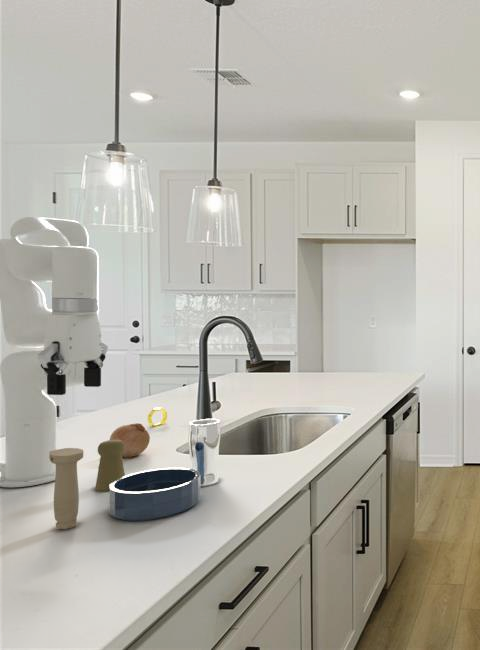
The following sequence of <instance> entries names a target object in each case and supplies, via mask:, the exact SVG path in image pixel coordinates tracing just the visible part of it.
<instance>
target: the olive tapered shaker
mask: <svg viewBox="0 0 480 650" xmlns="http://www.w3.org/2000/svg"><path fill="white" fill-rule="evenodd" d="M123 451H124V443H123V442H122V441H120V440H110V439H109V440H105V441H102V442H99V444H98V446H97V453H98V455H99V456H100V458H99V463H98V470H97V476H96V481H95V482H96V483H95V491H99V492H109V485H110V484H111V483H112V482H113V481H115V480H117V479H119V478H121V477H124V476H126V474H125V473H126V472H125V467H124V461H123V457H122V452H123Z"/></svg>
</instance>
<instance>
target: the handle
mask: <svg viewBox="0 0 480 650" xmlns="http://www.w3.org/2000/svg"><path fill="white" fill-rule="evenodd" d="M83 458H84V449H82V448H77V447H65V448H58V449H56V450H54V451H50V452H49V459H50V461H51V462H52V463H54V464H56V474H55V480H54V488H53V489H54V490H53V514H54V520H55V521H56V522H55V528H56V530H59V531H60V530H68V529H72V528H74V527H75V526H76V524H77V521H78V520H77V519H78V518H77V517H78V515H79V514H78V513H79V505H80V503H79V502H80V500H79V499H80V492H79V478H78V477H79V476H78V462H79V461H81V460H82V459H83Z"/></svg>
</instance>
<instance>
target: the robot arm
mask: <svg viewBox="0 0 480 650" xmlns="http://www.w3.org/2000/svg"><path fill="white" fill-rule="evenodd" d="M9 233H10V235H9V236H10V238H1V239H0V308H1V319H2V326H3V334H4V338H5V340H6V343H7V344H8V345H9V346H11V347H14V348H18V349H34V350H21V351H15V352H13V353H10V354H8V355H6V356H5V357H4V358H2V360H1V362H0V378H1V384H2V390H3V395H4V411H5V413H4V414H5V417H4V419H5V420H4V422H5V423H4V424H5V427H4V429H5V433H4V434H5V436H4V440H5V441H4V443H5V444H4V445H5V447H4V448H5V451H4V453H5V459H4V460H5V461H0V488H25V487H32V486H37V485H43V484H46V483H50V482H55V474H56V464H54V463H52V462H51V461H50V459H49V452H50V451H54V450H57V439H58V438H57V428H58V427H57V425H58V424H57V422H58V421H57V416H58V415H57V405H56V403H55V401H54V400H53V399H52V398H50V397H49V396H64V395H66V393H67V387H75V386H76V387H77V386H82V385H83V386H84V387H86V388H87V387H88V388H89V387H90V388H92V387H93V388H99V387H101V386H102V368H103V367H104V360H106V358H107V357H106V355H107V352H108V349H109V346H108V345H107V344H106V343H103V342H102V329H101V322H100V317H99V254H98V252H97V251H96V249H95V248H92V247H88V246H89V241H90V240H89V233H88V231H87V229H86V227H85V226H84V225H83V224H82V223H81V222H79V221H77V220H74V219H73V220H72V219H61V218H51V217H41V216H40V217H39V216H27V217H26V216H25V217H22V218H20V219H17V220H16V221H14V223H12V225H11V226H10V231H9ZM35 282H40V283H41V282H43V283H45V282H47V283H51V309H49V308H48V307H47V303H46V295H45V293H44V291H43V290H42V289H41V288H40V287H39V286H38V285H37V284H36V283H35ZM36 348H37V349H36ZM38 348H43V349H38ZM35 349H36V350H35ZM44 390H46V393H45V392H44Z"/></svg>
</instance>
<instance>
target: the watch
mask: <svg viewBox="0 0 480 650" xmlns="http://www.w3.org/2000/svg"><path fill="white" fill-rule="evenodd" d="M160 411H161V412H162V413H163V418H162V420H161V421H160V422H158V423H153V421H152V416H153V414H154V413H155V412H160ZM167 419H168V413H167V411H166V410H165V409H163V407H161V406H160V407H153V408H152V410H151V411H150V412H149V413H148V415H147V422H148V424H149V425H151V426H153V427H157V426H161V425H164V424H165V422H166V421H167Z"/></svg>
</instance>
